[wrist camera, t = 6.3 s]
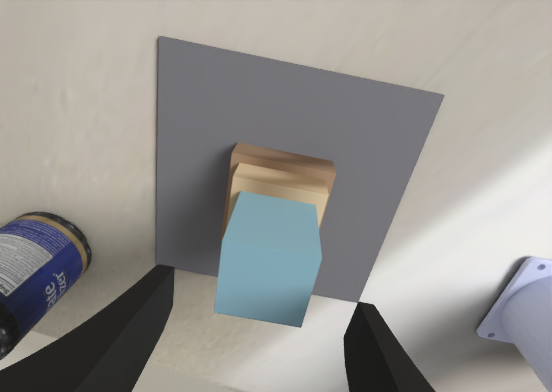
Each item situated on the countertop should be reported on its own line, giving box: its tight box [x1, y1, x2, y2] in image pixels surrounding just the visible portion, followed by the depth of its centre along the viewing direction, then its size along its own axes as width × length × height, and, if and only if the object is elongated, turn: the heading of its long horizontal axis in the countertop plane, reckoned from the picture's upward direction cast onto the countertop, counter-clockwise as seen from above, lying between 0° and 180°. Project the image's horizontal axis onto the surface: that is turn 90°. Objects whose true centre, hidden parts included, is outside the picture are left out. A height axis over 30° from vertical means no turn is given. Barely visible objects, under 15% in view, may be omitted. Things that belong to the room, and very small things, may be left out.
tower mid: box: [226, 163, 329, 229], centre depth 18 cm, size 5×5×2 cm
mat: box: [156, 36, 445, 303], centre depth 21 cm, size 16×16×1 cm
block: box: [214, 191, 322, 328], centre depth 15 cm, size 4×4×4 cm
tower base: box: [221, 142, 336, 240], centre depth 20 cm, size 6×6×2 cm
